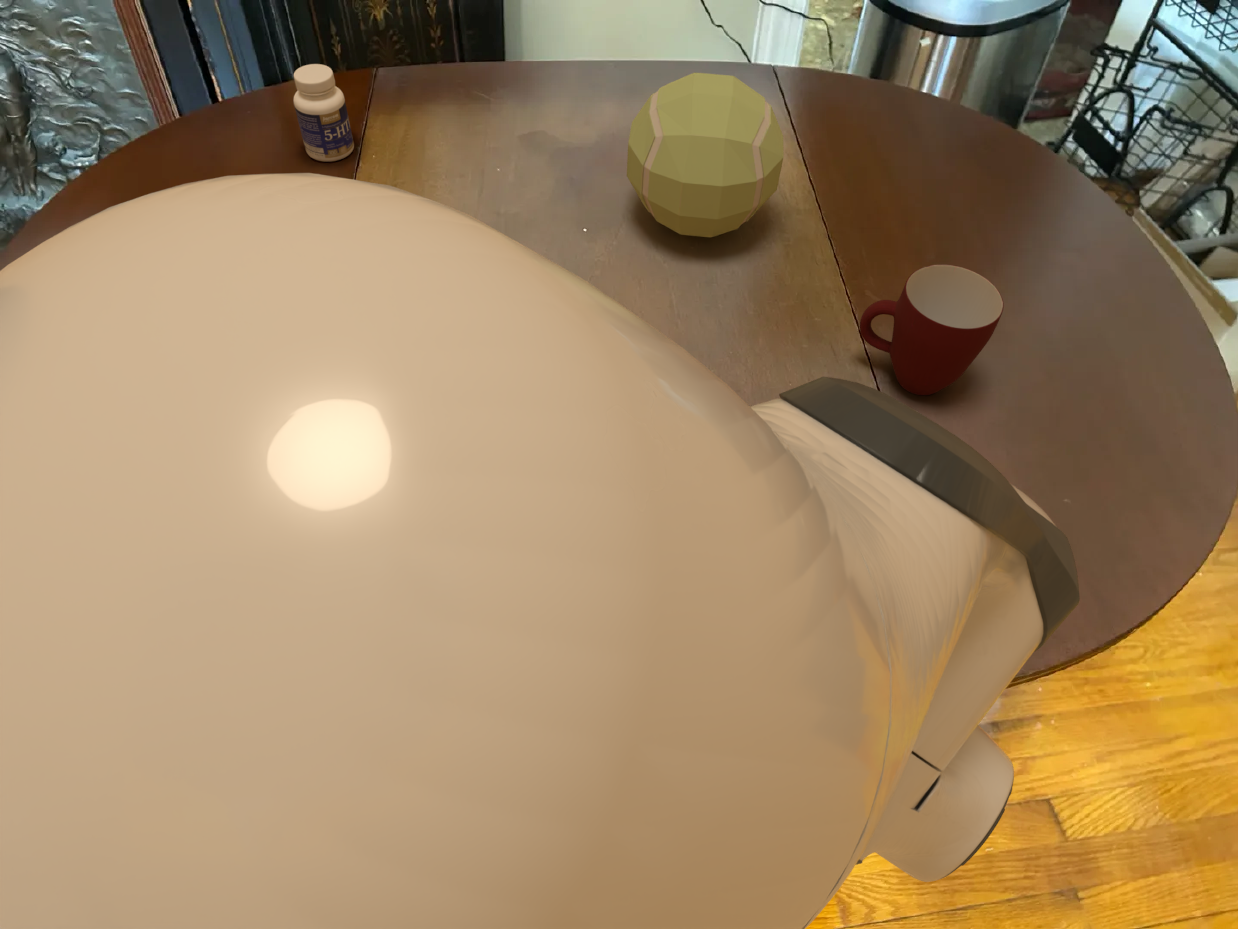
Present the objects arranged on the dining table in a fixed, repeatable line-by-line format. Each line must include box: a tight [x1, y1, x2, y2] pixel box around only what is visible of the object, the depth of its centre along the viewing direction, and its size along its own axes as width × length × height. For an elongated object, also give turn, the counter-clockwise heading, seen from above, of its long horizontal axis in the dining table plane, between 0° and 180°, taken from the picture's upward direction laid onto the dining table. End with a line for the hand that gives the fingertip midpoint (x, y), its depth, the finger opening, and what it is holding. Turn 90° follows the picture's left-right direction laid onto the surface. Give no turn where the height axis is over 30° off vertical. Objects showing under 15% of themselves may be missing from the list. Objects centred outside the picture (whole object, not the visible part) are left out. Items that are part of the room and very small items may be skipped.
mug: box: [859, 263, 1005, 396], centre depth 79 cm, size 10×8×10 cm
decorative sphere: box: [626, 72, 785, 238], centre depth 90 cm, size 15×15×15 cm
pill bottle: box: [293, 63, 355, 163], centre depth 98 cm, size 5×5×9 cm
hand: (548, 483), depth 56 cm, fingers open, 8 cm apart
